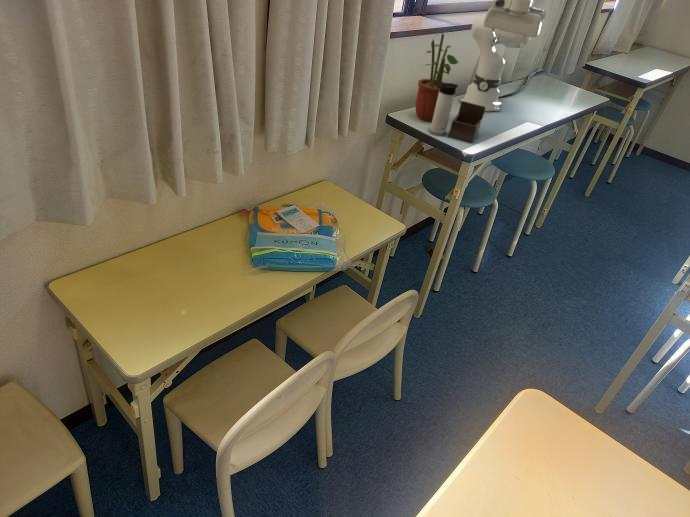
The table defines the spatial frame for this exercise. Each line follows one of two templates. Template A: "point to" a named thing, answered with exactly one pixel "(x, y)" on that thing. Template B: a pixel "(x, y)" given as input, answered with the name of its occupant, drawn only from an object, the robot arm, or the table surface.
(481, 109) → the brown hinged box
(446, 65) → the potted plant
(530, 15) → the robot arm
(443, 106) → the travel mug
